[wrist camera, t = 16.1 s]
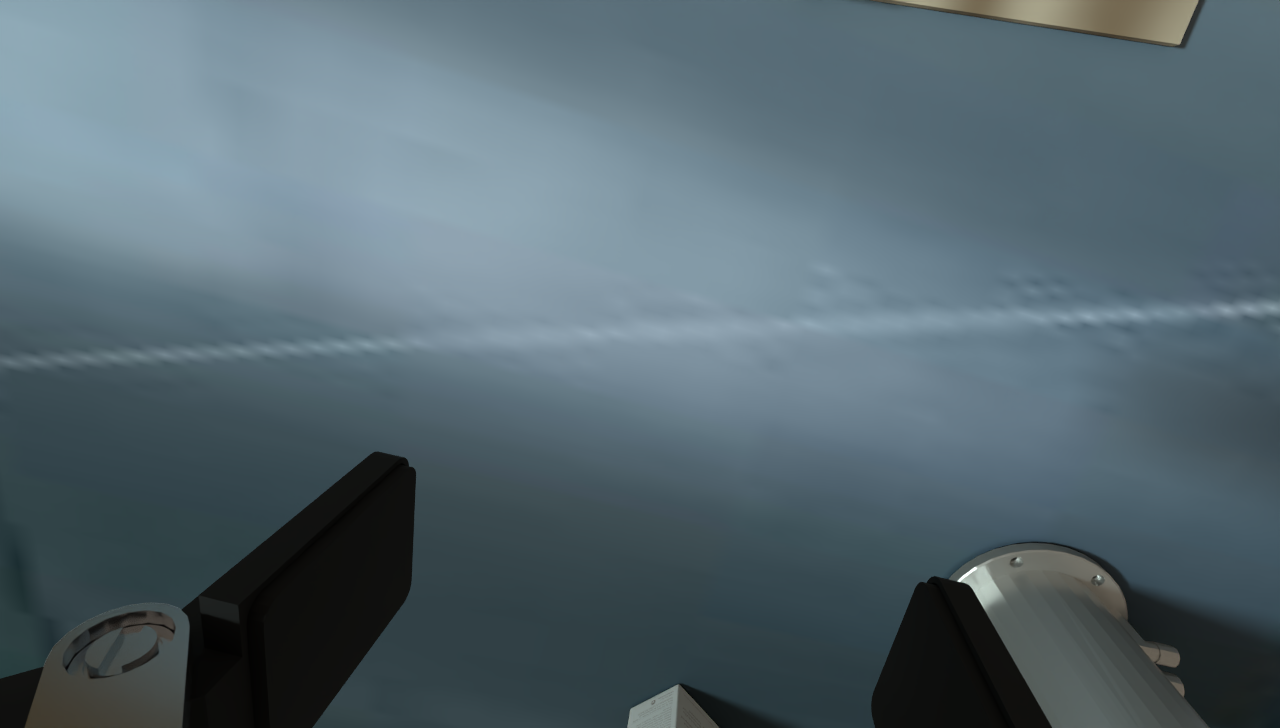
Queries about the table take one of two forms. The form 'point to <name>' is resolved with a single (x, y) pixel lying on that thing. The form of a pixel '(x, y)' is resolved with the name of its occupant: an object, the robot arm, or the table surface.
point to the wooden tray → (1081, 15)
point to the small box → (670, 712)
